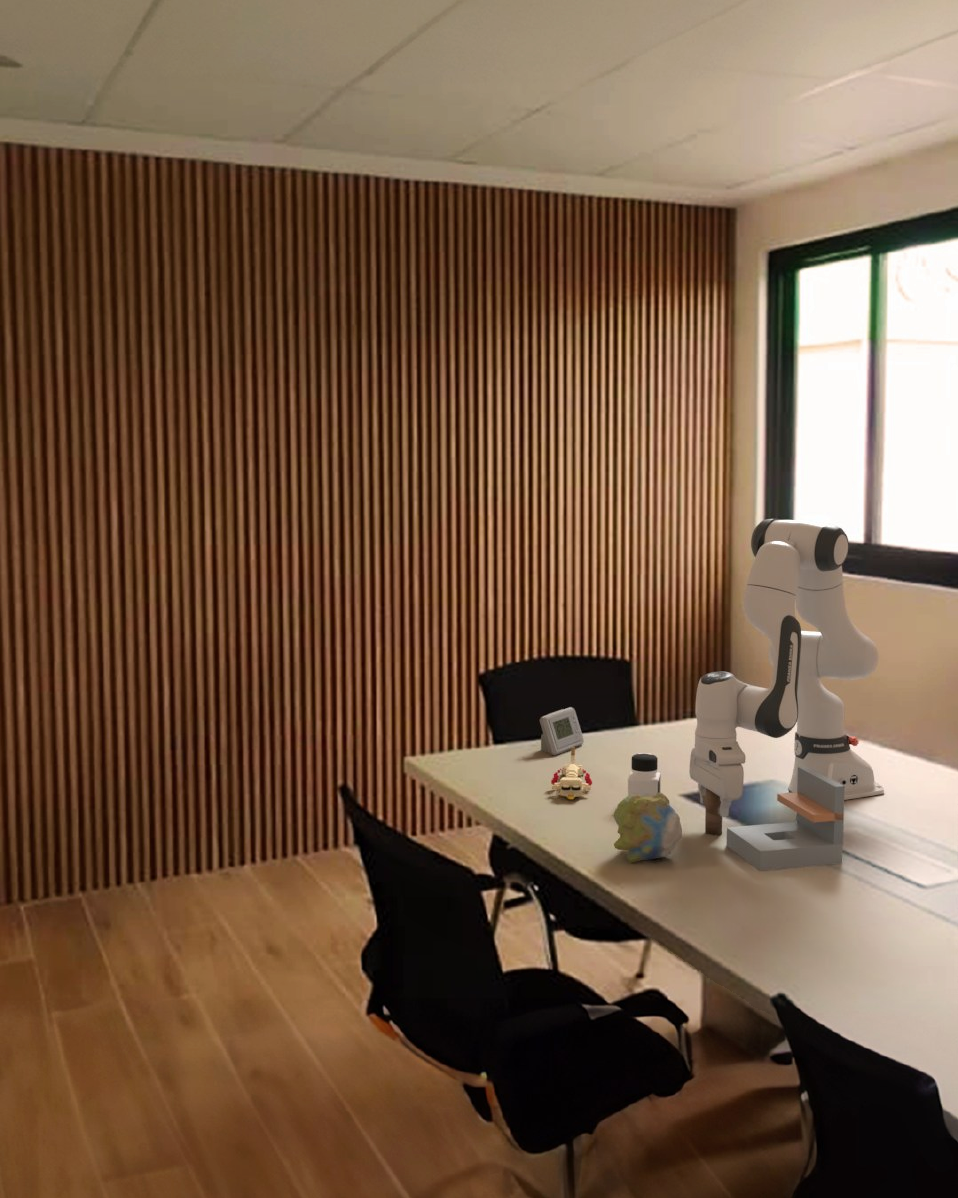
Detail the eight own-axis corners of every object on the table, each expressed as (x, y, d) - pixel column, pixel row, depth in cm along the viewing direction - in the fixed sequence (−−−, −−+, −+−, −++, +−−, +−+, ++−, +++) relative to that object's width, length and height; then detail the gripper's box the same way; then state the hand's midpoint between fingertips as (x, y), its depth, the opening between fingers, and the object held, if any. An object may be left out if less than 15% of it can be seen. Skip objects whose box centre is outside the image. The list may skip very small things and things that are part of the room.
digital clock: (552, 757, 345) (552, 719, 344) (528, 751, 352) (528, 713, 351) (592, 747, 356) (593, 709, 355) (569, 741, 363) (569, 705, 362)
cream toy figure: (553, 779, 329) (549, 799, 304) (553, 745, 328) (549, 762, 303) (592, 780, 328) (591, 800, 303) (592, 746, 327) (591, 763, 302)
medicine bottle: (658, 809, 297) (658, 759, 295) (627, 808, 298) (627, 758, 297) (660, 801, 304) (660, 751, 302) (630, 799, 305) (630, 750, 304)
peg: (717, 829, 281) (718, 785, 280) (724, 834, 278) (725, 789, 277) (702, 831, 281) (703, 786, 279) (709, 836, 277) (709, 791, 276)
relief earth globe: (684, 787, 259) (638, 774, 271) (625, 823, 251) (580, 807, 264) (700, 847, 262) (654, 831, 275) (643, 884, 255) (598, 866, 268)
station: (804, 839, 275) (806, 766, 272) (842, 863, 259) (844, 786, 257) (726, 845, 270) (727, 772, 268) (760, 870, 255) (761, 792, 253)
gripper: (683, 737, 286) (681, 798, 288) (721, 759, 266) (720, 824, 268) (709, 736, 287) (708, 796, 289) (749, 757, 268) (747, 822, 269)
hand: (714, 810), depth 278 cm, fingers open, 8 cm apart
